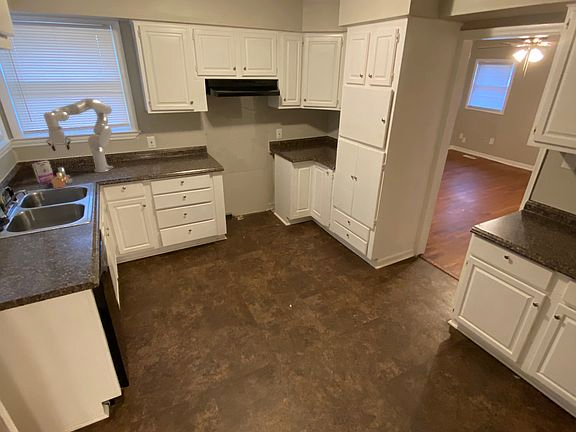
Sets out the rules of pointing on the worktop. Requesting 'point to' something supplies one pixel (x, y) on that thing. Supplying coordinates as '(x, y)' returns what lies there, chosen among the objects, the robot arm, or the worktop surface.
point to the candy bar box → (43, 171)
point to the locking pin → (59, 175)
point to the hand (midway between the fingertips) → (61, 150)
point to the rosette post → (61, 182)
